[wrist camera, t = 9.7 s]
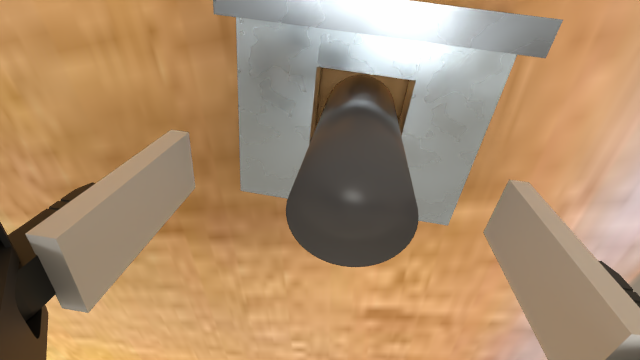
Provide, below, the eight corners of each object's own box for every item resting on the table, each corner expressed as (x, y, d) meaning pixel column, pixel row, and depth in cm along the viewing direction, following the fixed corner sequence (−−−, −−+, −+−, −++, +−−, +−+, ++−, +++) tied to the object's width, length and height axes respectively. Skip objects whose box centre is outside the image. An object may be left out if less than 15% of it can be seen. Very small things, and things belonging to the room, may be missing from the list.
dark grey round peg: (323, 135, 24) (283, 255, 13) (330, 70, 22) (289, 149, 10) (385, 145, 24) (400, 276, 13) (401, 80, 21) (435, 172, 10)
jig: (251, 175, 27) (225, 213, 22) (249, -19, 20) (211, -25, 15) (441, 206, 26) (457, 253, 21) (513, 14, 19) (563, 19, 14)
